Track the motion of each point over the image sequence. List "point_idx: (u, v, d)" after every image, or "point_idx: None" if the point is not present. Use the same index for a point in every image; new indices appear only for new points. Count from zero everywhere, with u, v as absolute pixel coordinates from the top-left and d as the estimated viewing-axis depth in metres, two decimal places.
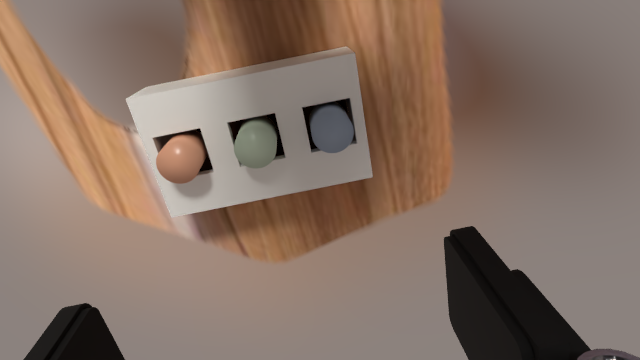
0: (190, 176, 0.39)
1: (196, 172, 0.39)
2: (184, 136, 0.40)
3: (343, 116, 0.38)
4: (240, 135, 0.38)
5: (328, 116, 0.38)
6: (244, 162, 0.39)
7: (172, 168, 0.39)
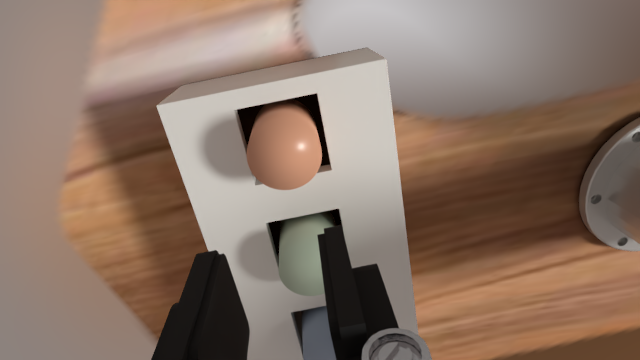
0: (261, 174, 0.22)
1: (269, 184, 0.22)
2: None
3: None
4: None
5: None
6: (288, 255, 0.24)
7: (276, 145, 0.21)
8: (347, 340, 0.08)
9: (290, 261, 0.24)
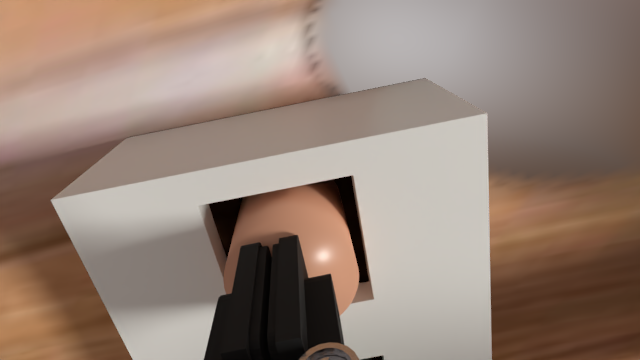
0: None
1: None
2: None
3: None
4: None
5: None
6: None
7: None
8: (284, 354, 0.08)
9: None
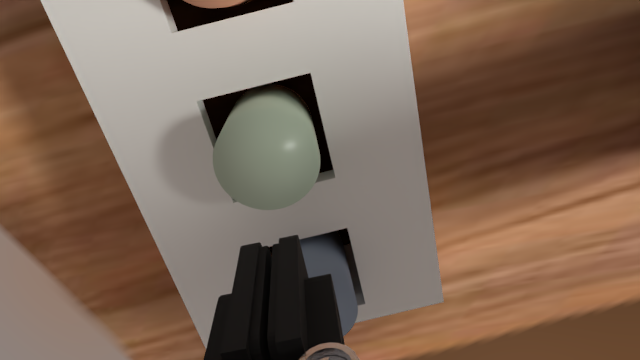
0: None
1: None
2: None
3: (349, 326, 0.19)
4: (301, 127, 0.15)
5: (348, 303, 0.18)
6: (226, 137, 0.15)
7: None
8: (285, 354, 0.08)
9: (230, 148, 0.15)
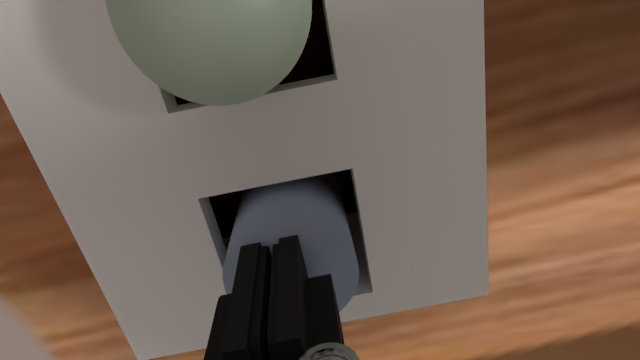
0: None
1: None
2: None
3: (345, 301, 0.12)
4: None
5: (345, 264, 0.12)
6: None
7: None
8: (285, 354, 0.08)
9: None
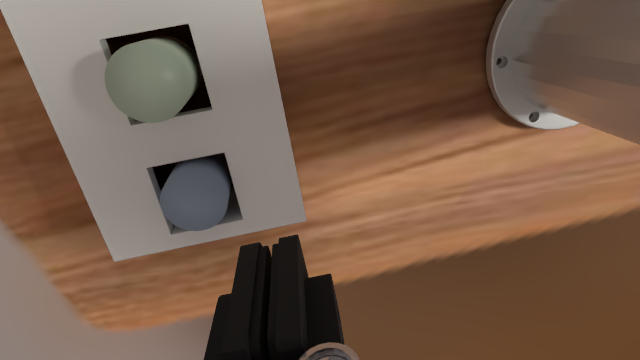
0: None
1: None
2: None
3: (222, 215, 0.25)
4: (171, 58, 0.20)
5: (220, 195, 0.25)
6: (115, 62, 0.20)
7: None
8: (285, 354, 0.08)
9: (118, 70, 0.20)
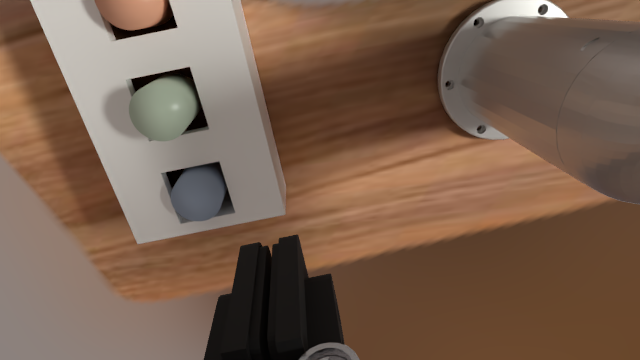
0: (108, 14, 0.27)
1: (116, 24, 0.27)
2: (167, 2, 0.29)
3: (218, 209, 0.33)
4: (176, 95, 0.28)
5: (216, 194, 0.32)
6: (136, 98, 0.28)
7: None
8: (285, 354, 0.08)
9: (138, 104, 0.28)
